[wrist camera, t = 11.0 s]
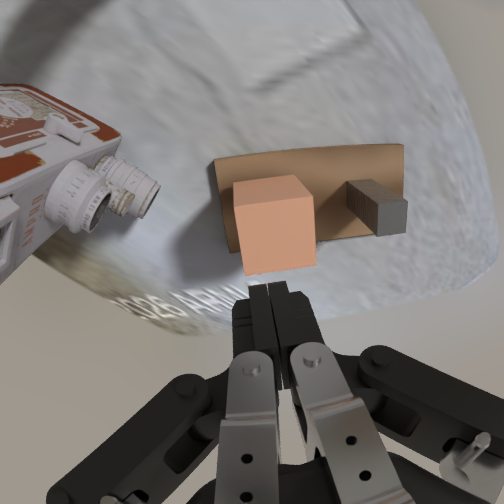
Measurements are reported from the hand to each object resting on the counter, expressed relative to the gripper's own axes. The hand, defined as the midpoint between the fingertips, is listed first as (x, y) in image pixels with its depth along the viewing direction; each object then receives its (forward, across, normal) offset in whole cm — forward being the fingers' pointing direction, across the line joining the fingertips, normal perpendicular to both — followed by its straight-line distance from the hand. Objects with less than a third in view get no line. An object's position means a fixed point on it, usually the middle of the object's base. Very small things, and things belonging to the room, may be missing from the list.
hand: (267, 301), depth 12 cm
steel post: (+16, -11, +2) cm, 19 cm away
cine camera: (+18, +15, -7) cm, 25 cm away
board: (+17, -7, +2) cm, 19 cm away
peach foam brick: (+15, -2, +2) cm, 15 cm away
